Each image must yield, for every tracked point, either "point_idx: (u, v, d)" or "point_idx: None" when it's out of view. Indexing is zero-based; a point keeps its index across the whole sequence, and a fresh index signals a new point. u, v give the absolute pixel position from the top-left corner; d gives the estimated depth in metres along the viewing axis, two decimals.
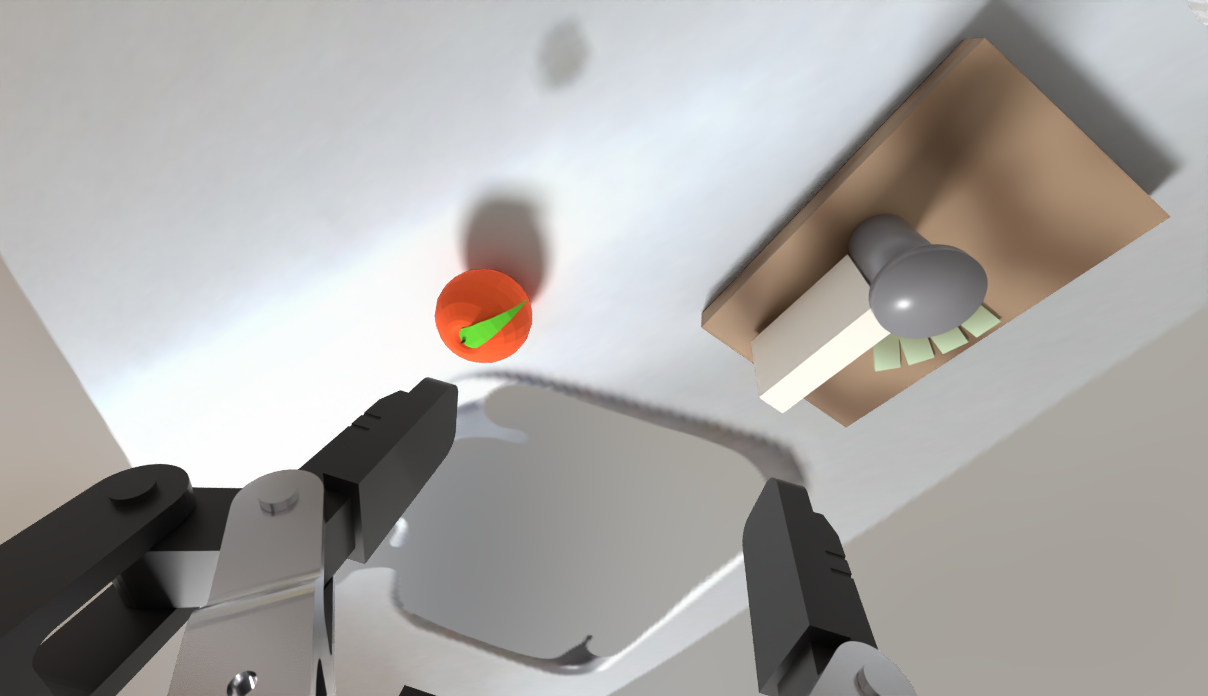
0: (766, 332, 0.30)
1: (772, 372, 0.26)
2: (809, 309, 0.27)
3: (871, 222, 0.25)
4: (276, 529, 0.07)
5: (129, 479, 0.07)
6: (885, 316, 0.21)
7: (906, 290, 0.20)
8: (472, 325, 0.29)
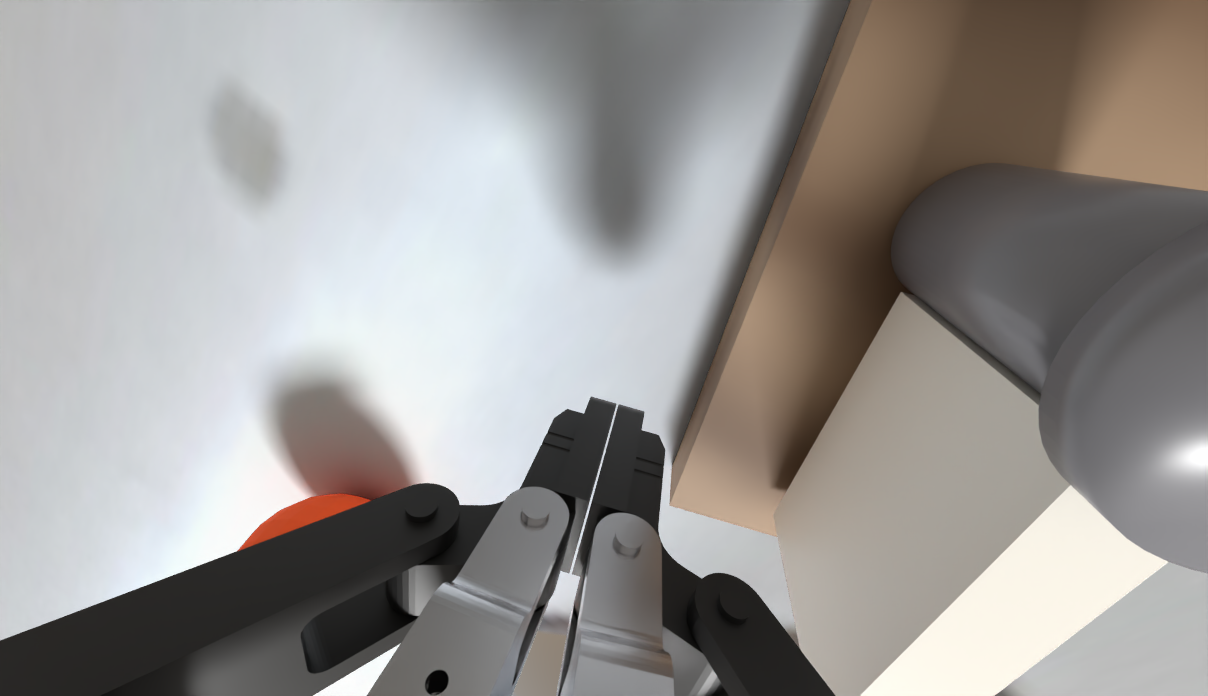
0: (793, 497, 0.13)
1: (829, 648, 0.10)
2: (860, 447, 0.11)
3: (928, 202, 0.10)
4: (521, 541, 0.07)
5: (424, 496, 0.07)
6: (1172, 528, 0.05)
7: None
8: None
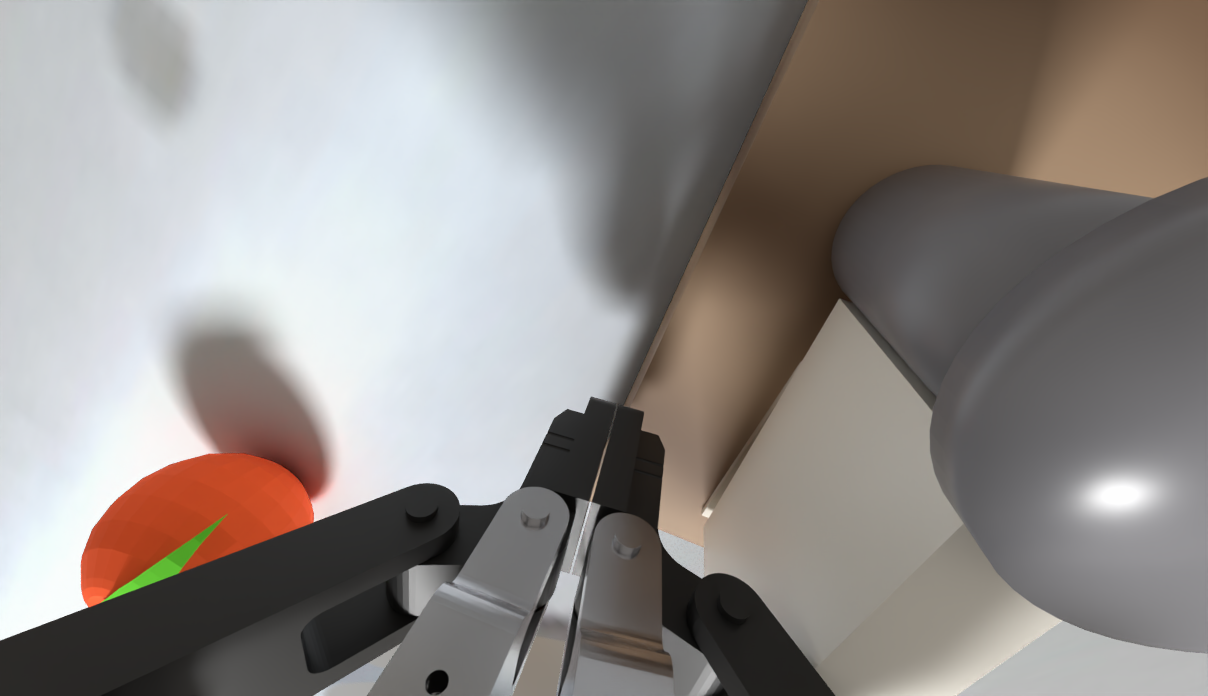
0: (722, 509, 0.13)
1: None
2: (785, 462, 0.10)
3: (869, 201, 0.09)
4: (521, 542, 0.07)
5: (424, 496, 0.07)
6: (1064, 581, 0.04)
7: (1152, 459, 0.03)
8: (110, 596, 0.14)
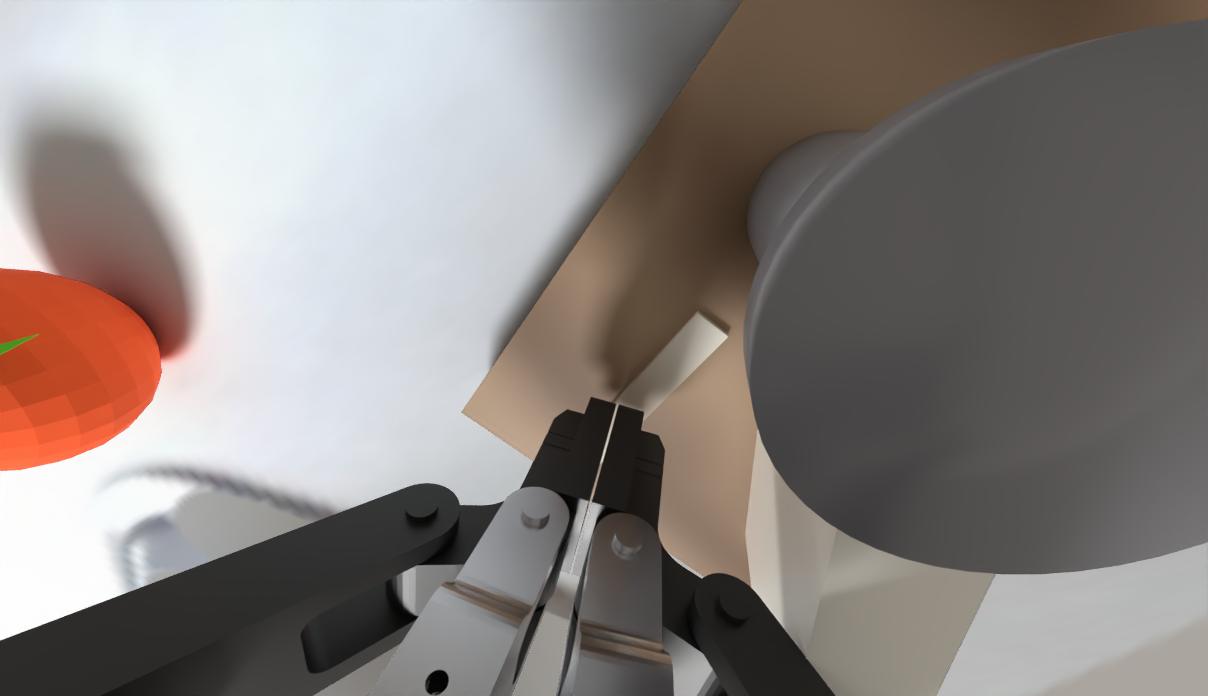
0: (750, 513, 0.13)
1: None
2: None
3: (757, 192, 0.09)
4: (521, 542, 0.07)
5: (424, 496, 0.07)
6: (914, 530, 0.04)
7: (902, 403, 0.04)
8: None
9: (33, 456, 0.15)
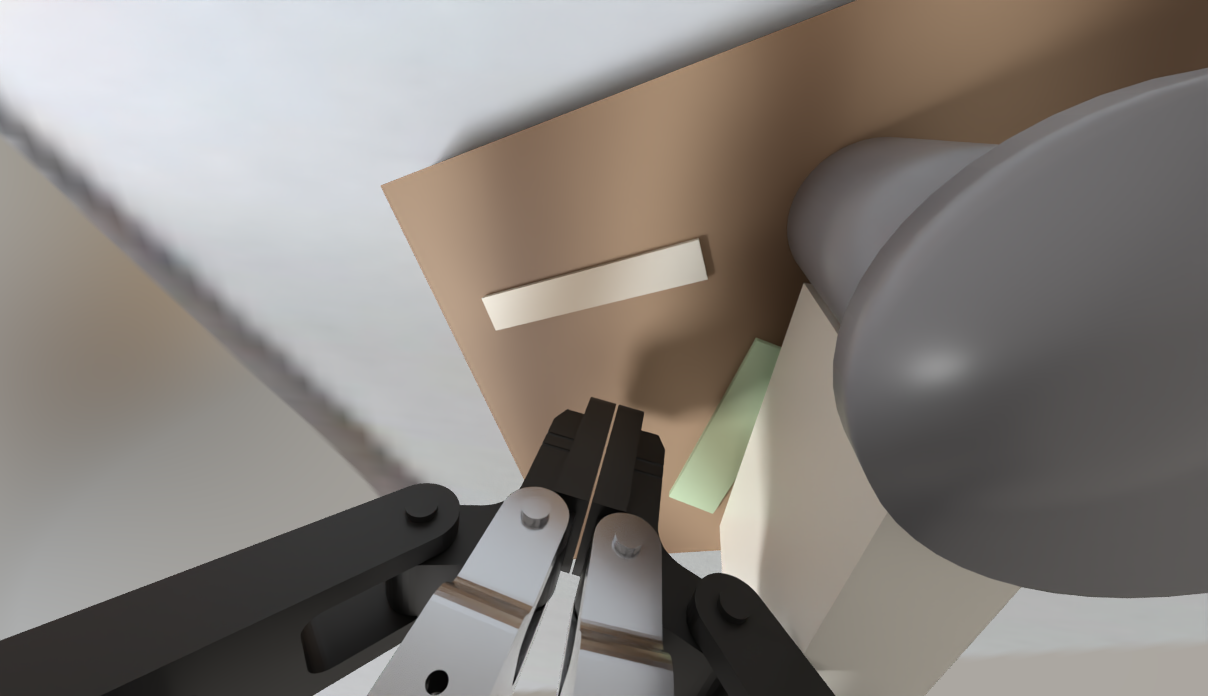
0: (731, 506, 0.13)
1: None
2: (773, 452, 0.10)
3: (809, 185, 0.09)
4: (521, 541, 0.07)
5: (424, 496, 0.07)
6: (982, 540, 0.04)
7: (1018, 410, 0.04)
8: None
9: None
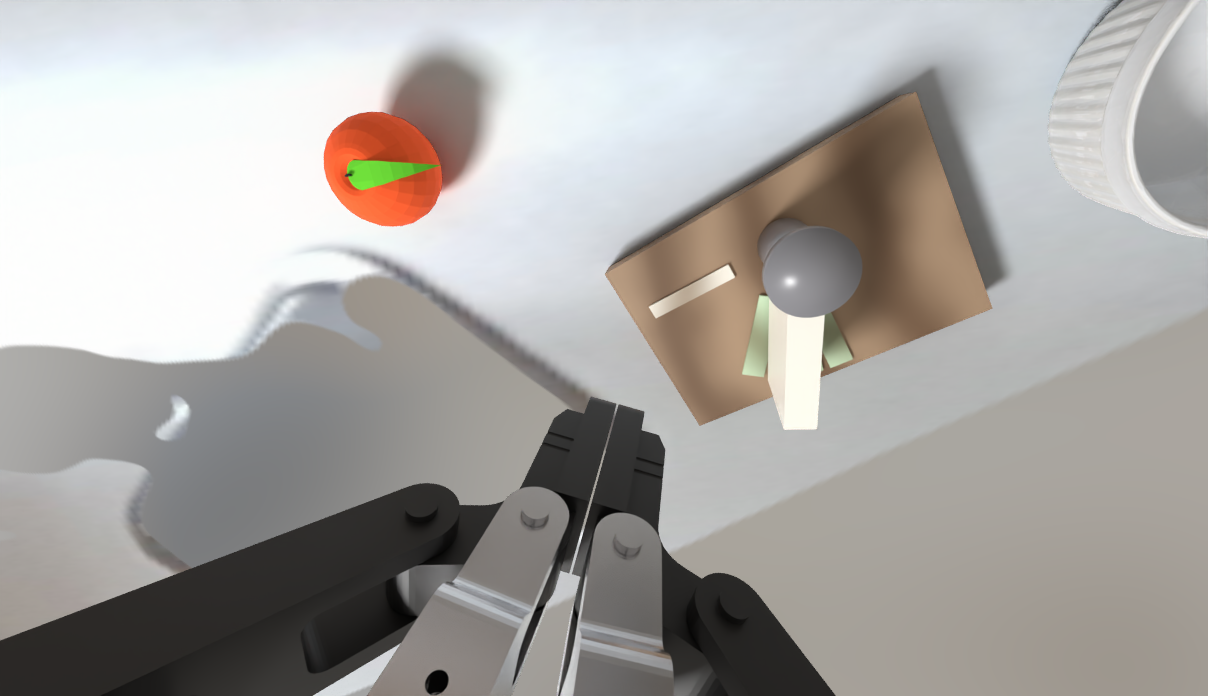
0: (769, 366, 0.30)
1: (780, 400, 0.27)
2: (773, 330, 0.28)
3: (760, 239, 0.27)
4: (521, 542, 0.07)
5: (424, 496, 0.07)
6: (798, 309, 0.22)
7: (790, 283, 0.22)
8: (366, 160, 0.26)
9: (393, 218, 0.28)
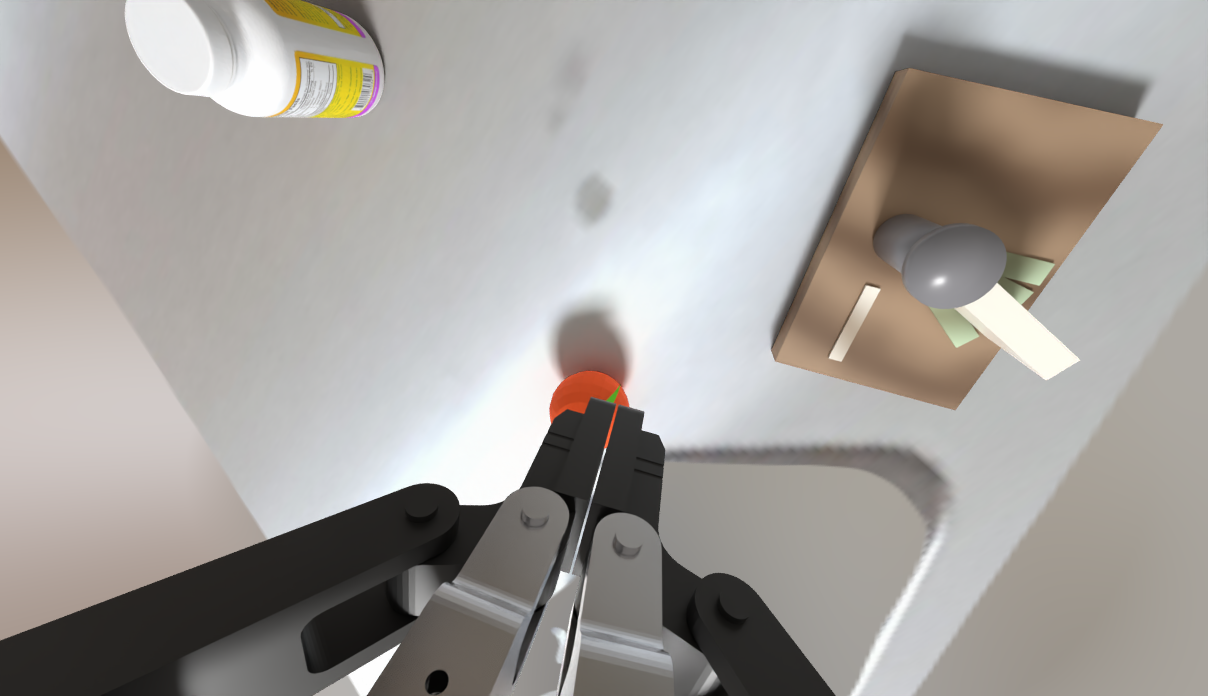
0: (976, 327, 0.30)
1: (1018, 358, 0.26)
2: None
3: (877, 253, 0.29)
4: (521, 541, 0.07)
5: (424, 496, 0.07)
6: (967, 297, 0.24)
7: (942, 287, 0.23)
8: None
9: None
